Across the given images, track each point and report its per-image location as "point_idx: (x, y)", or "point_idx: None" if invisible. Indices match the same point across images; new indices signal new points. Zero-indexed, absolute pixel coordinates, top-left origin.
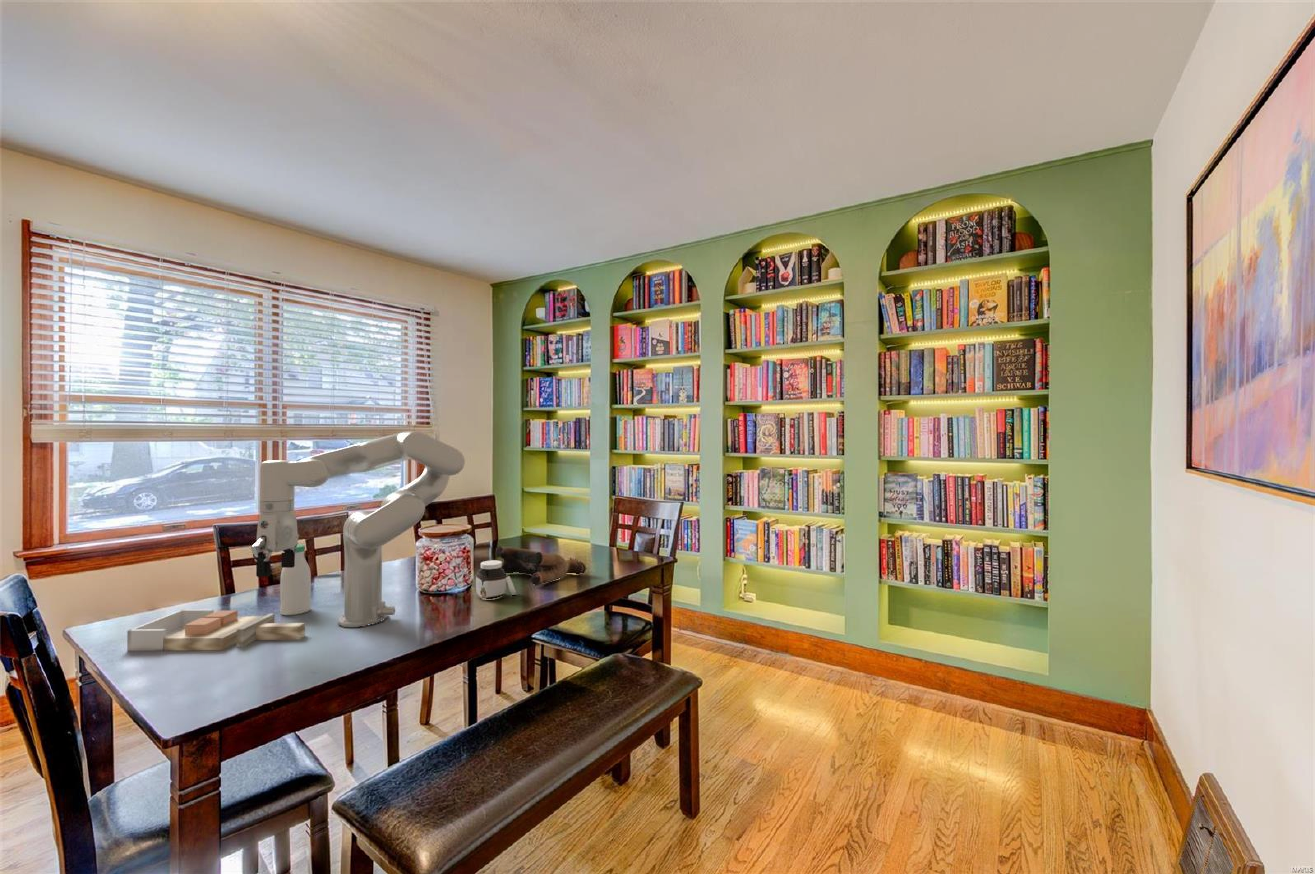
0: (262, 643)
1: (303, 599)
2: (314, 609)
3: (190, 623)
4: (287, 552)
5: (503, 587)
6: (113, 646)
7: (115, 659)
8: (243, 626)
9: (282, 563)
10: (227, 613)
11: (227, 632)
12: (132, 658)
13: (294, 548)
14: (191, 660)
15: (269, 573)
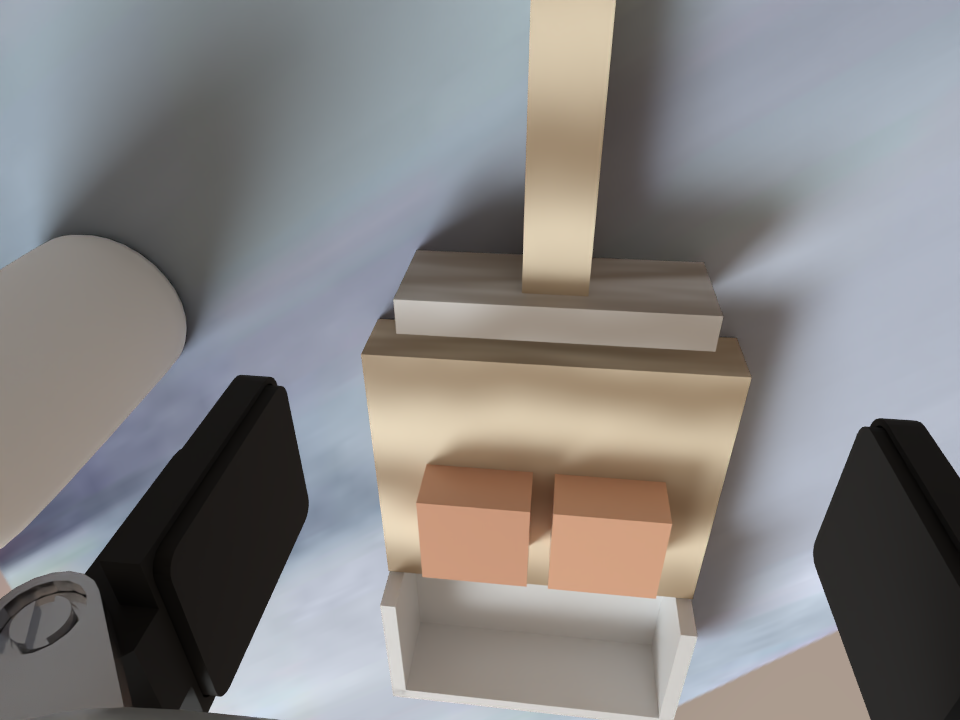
0: (665, 177)
1: (69, 283)
2: (40, 216)
3: (638, 587)
4: (174, 658)
5: None
6: None
7: (753, 635)
8: (657, 343)
9: (286, 541)
10: (472, 520)
11: (650, 401)
12: (757, 598)
13: (25, 655)
14: (866, 393)
15: (930, 444)
